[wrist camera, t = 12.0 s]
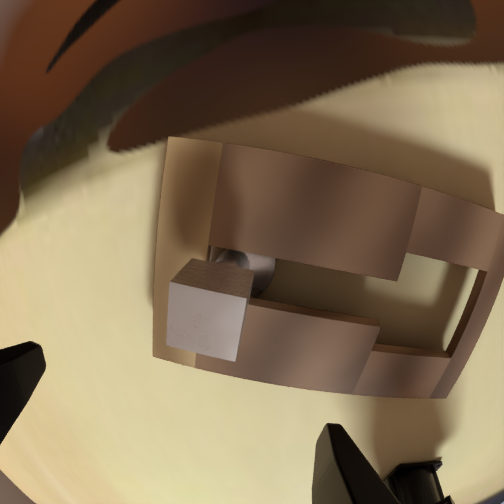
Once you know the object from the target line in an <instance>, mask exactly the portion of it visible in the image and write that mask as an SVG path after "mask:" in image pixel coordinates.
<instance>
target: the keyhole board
mask: <svg viewBox="0 0 504 504" xmlns="http://www.w3.org/2000/svg"><path fill="white" fill-rule="evenodd" d="M211 246H215V247H220V248H226V249H231V250H236V251H241V252H246V253H251V254H257V255H262V256H267V257H272V258H277V259H283V260H288V261H293V262H298V263H303V264H309V265H314V266H319V267H324V268H329V269H335V270H340V271H345V272H350V273H356V274H361V275H366V276H371V277H376V278H382V279H387V280H392V281H397V280H398V277H399V274H400V270H401V267H402V264H403V260H404V257H405V254H406V252H407V253H411V254H416V255H420V256H425V257H429V258H433V259H437V260H442V261H446V262H450V263H454V264H458V265H463V266H467V267H471V268H475V269H479V271H478V274H477V277H476V280H475V283H474V285H473V288H472V291H471V294H470V296H469V299H468V301H467V304H466V307H465V309H464V311H463V314H462V316H461V319H460V321H459V323H458V326H457V328H456V330H455V332H454V335H453V337H452V339H451V341H450V343H449V345H448V348H447V350H446V351H443V350H431V349H421V348H411V347H402V346H393V345H385V344H376V343H375V341H376V338H377V336H378V333H379V331H380V328H381V326H380V324H379V322H378V320H377V319H372V318H365V317H359V316H353V315H347V314H341V313H335V312H329V311H323V310H317V309H311V308H306V307H300V306H295V305H289V304H284V303H278V302H273V301H268V300H263V299H258V298H252V297H250V300H249V305H248V311H247V316H246V321H245V327H244V330H243V334H242V338H241V342H240V346H239V349H238V353H237V357H236V361H235V362H234V361H229V360H224V359H220V358H216V357H211V356H207V355H203V354H199V353H194V352H190V351H186V350H183V349H179V348H175V347H171V346H167V345H166V339H167V316H168V298H169V283H170V281H171V280H172V279H173V278H174V276H175V275H176V274H177V273H178V272H179V271H180V270H181V269H182V268H183V267H184V266H185V265H186V264H187V263H188V261H189V260H190V259H191V258H195V259H199V260H204V261H210V253H211ZM503 278H504V215H503V214H500V213H498V212H495V211H493V210H490V209H487V208H485V207H482V206H480V205H477V204H474V203H471V202H469V201H466V200H463V199H460V198H457V197H454V196H451V195H448V194H445V193H442V192H439V191H436V190H433V189H430V188H427V187H423V186H420V185H417V184H414V183H410V182H407V181H403V180H400V179H396V178H393V177H389V176H385V175H382V174H378V173H374V172H370V171H366V170H362V169H358V168H354V167H350V166H346V165H342V164H337V163H333V162H329V161H324V160H319V159H315V158H310V157H305V156H300V155H295V154H290V153H284V152H279V151H273V150H267V149H261V148H255V147H249V146H242V145H236V144H229V143H221V142H214V141H206V140H197V139H188V138H179V137H168V144H167V151H166V158H165V165H164V173H163V181H162V190H161V199H160V209H159V219H158V230H157V243H156V257H155V275H154V297H153V357H156V358H160V359H163V360H167V361H171V362H174V363H178V364H182V365H186V366H190V367H194V368H198V369H202V370H206V371H210V372H215V373H219V374H224V375H228V376H233V377H238V378H243V379H248V380H253V381H258V382H264V383H270V384H275V385H281V386H288V387H294V388H301V389H308V390H316V391H324V392H333V393H342V394H353V395H364V396H378V397H397V398H447V396H448V394H449V393H450V391H451V389H452V388H453V386H454V384H455V383H456V381H457V379H458V377H459V376H460V374H461V372H462V370H463V368H464V367H465V365H466V363H467V361H468V359H469V357H470V355H471V353H472V351H473V349H474V347H475V345H476V343H477V341H478V339H479V337H480V335H481V332H482V330H483V328H484V326H485V324H486V321H487V319H488V317H489V314H490V312H491V309H492V307H493V305H494V302H495V299H496V297H497V294H498V292H499V289H500V286H501V283H502V281H503Z"/></svg>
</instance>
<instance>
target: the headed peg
mask: <svg viewBox="0 0 504 504" xmlns="http://www.w3.org/2000/svg"><path fill="white" fill-rule="evenodd" d="M275 262H276V258H272V257H267V256H262V255H257V254H251V253H246V252H241V251H236V250H231V249H226V248H220V247H215V246H211V253H210V261H204V260H199V259H195V258H191V259H190V260H189V261H188V263H187V264H186V265H185V266H184V267H183V268H182V269H181V270H180V271H179V272H178V273H177V274H176V275H175V276H174V278H173V279H172V280H171V281H170V283H169V298H168V316H167V339H166V345H167V346H171V347H175V348H179V349H183V350H186V351H190V352H194V353H199V354H203V355H207V356H211V357H216V358H220V359H224V360H229V361H234V362H235V361H236V357H237V353H238V349H239V346H240V342H241V338H242V334H243V330H244V327H245V321H246V316H247V311H248V305H249V300H250V297H252V298H255V297H257V296H258V295H260V294H261V293H262V292H263V291H264V290H265V289H266V288H267V287H268V286H269V284H270V282H271V280H272V278H273V275H274V270H275Z"/></svg>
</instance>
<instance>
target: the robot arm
mask: <svg viewBox="0 0 504 504" xmlns="http://www.w3.org/2000/svg"><path fill="white" fill-rule="evenodd" d="M45 369H46V362H45V358H44V354H43V350H42V347H41V345H39V344H37V343H35V342H33V341H28V342H25V343H21V344H18V345H14V346H11V347H7V348H4V349H0V444H1V443H2V441H3V440H4V438H5V436H6V435H7V433H8V432H9V430H10V429H11V427H12V425H13V424H14V422H15V421H16V419H17V418H18V416H19V415H20V413H21V412H22V410H23V409H24V407H25V406H26V404H27V402H28V401H29V399H30V397H31V395H32V393H33V391H34V390H35V388H36V386H37V384H38V382H39V380H40V379H41V377H42V375H43V373H44V372H45ZM441 466H442V461H434V462H424V463H413V464H401V465H398V466H397V467H396V468H395V469H394V470H393V471H392V473H391V474H390V475H389V476H388V477H387V478H386V479H385V481H384V482H383V480H382V479H381V478H380V476H379V475H378V474H377V472H376V471H375V470H374V468H373V467H372V466H371V464H370V463H369V462H368V460H367V459H366V458H365V456H364V455H363V454H362V452H361V451H360V450H359V448H358V447H357V446H356V444H355V443H354V442H353V440H352V439H351V438H350V436H349V435H348V433H347V432H346V431H345V429H344V428H343V427H342V425H340V424H333V423H327V424H326V425H325V426H324V428H323V430H322V432H321V434H320V436H319V438H318V440H317V443H316V450H315V462H314V473H313V483H312V504H455V503H454V501H453V500H452V498H451V496H450V495H449V496H447V497H445V498H444V495H443V492H442V489H441V486H440V482H439V479H438V476H437V473H436V471H437V470H438V469H439V468H440V467H441Z"/></svg>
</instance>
